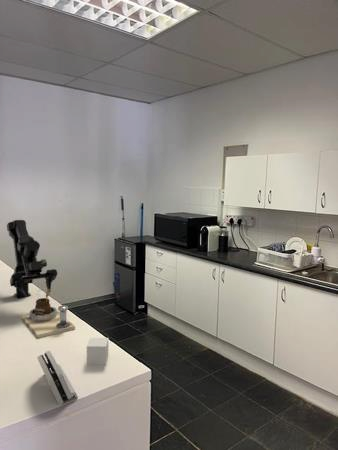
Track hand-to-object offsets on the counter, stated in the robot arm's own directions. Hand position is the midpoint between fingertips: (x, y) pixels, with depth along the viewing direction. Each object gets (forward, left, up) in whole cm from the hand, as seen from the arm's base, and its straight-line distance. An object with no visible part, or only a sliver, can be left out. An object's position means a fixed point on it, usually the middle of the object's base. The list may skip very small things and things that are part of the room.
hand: (38, 294), depth 142 cm
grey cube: (+48, +4, -9) cm, 49 cm away
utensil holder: (+6, 0, -8) cm, 10 cm away
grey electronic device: (+55, -12, -9) cm, 57 cm away
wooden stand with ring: (+11, 0, -9) cm, 14 cm away
